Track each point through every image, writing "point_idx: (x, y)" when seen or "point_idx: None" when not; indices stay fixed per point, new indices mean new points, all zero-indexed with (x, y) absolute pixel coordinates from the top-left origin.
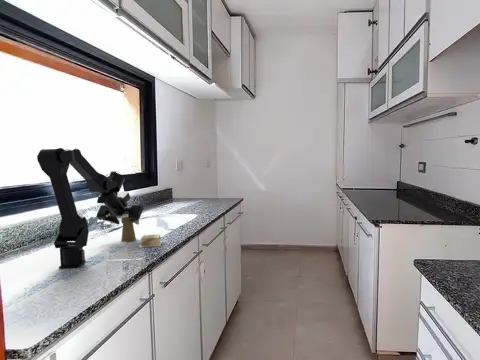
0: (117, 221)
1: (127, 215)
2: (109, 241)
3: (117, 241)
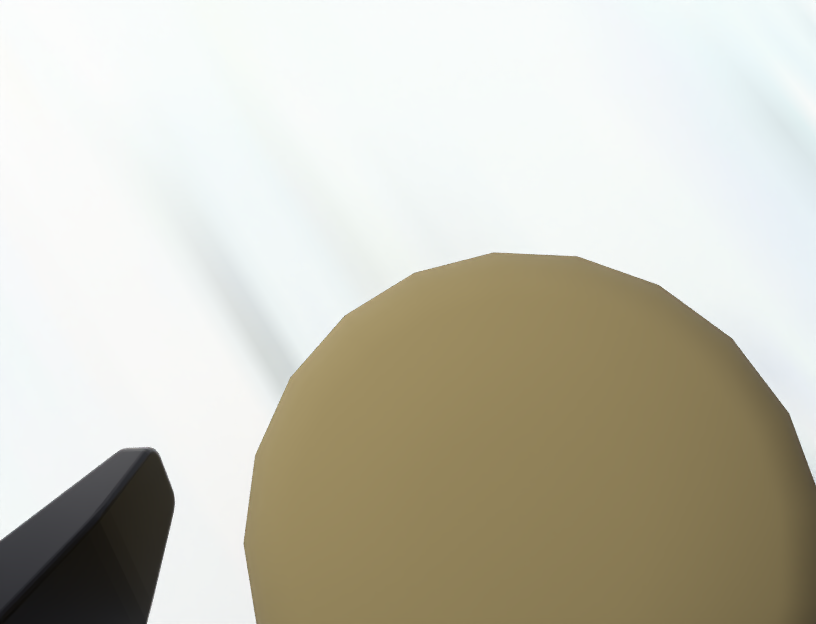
0: (110, 585)
1: (482, 453)
2: None
3: None
